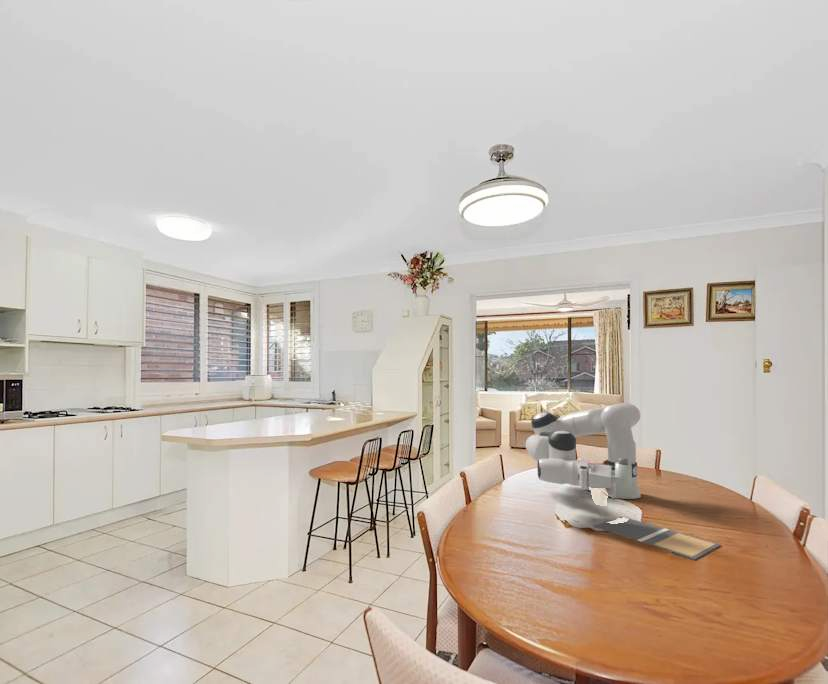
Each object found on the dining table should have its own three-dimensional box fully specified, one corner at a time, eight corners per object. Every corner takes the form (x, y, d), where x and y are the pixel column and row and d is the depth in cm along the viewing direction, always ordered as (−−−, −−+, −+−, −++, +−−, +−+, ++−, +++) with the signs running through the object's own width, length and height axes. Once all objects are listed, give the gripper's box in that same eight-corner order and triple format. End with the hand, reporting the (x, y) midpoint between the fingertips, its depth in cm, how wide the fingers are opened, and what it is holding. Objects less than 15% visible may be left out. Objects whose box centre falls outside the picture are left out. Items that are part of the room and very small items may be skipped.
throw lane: (593, 527, 156) (593, 526, 156) (621, 517, 167) (621, 515, 167) (694, 560, 130) (694, 558, 130) (720, 545, 141) (720, 544, 141)
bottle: (612, 495, 158) (612, 458, 158) (620, 493, 161) (620, 456, 161) (627, 499, 153) (626, 460, 154) (635, 496, 156) (634, 459, 157)
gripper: (585, 476, 172) (625, 480, 166) (581, 489, 153) (627, 494, 148) (585, 459, 172) (625, 462, 167) (581, 470, 153) (626, 474, 148)
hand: (626, 477), depth 157 cm, fingers closed on bottle, 5 cm apart
